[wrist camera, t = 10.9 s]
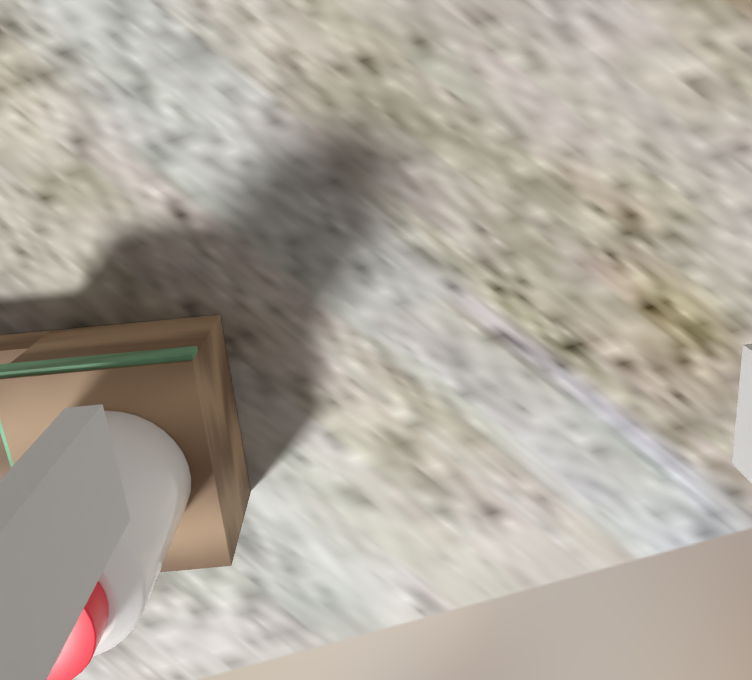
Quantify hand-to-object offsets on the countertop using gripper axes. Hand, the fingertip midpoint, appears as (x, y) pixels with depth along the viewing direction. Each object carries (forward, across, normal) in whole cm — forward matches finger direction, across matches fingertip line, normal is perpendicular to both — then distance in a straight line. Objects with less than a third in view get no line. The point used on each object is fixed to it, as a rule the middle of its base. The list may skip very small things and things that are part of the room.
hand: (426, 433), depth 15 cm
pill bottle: (+19, -15, -11) cm, 27 cm away
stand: (+27, -20, -11) cm, 35 cm away
